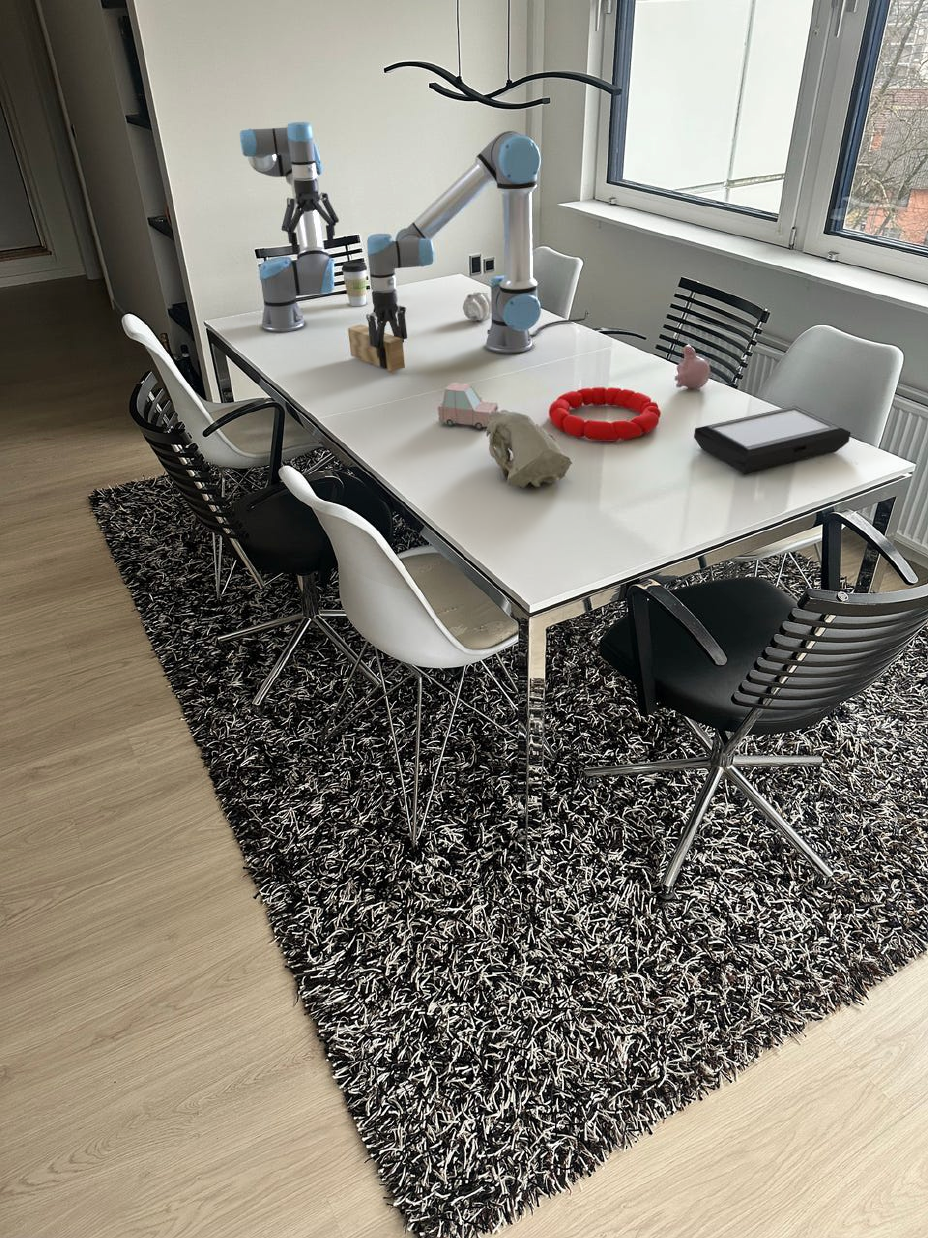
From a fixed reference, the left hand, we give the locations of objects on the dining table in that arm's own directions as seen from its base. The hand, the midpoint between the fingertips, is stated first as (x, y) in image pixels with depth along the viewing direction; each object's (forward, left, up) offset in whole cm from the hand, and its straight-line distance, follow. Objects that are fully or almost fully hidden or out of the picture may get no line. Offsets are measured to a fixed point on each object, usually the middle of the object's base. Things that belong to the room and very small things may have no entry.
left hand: (313, 250), depth 291 cm
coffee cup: (-47, +15, -31) cm, 58 cm away
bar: (+27, +16, -29) cm, 43 cm away
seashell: (-12, +57, -31) cm, 66 cm away
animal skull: (+115, +43, -31) cm, 127 cm away
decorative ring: (+91, +72, -31) cm, 120 cm away
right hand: (+34, +20, -29) cm, 49 cm away
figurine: (+73, +104, -31) cm, 131 cm away
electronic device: (+119, +106, -31) cm, 162 cm away
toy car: (+83, +36, -31) cm, 95 cm away
